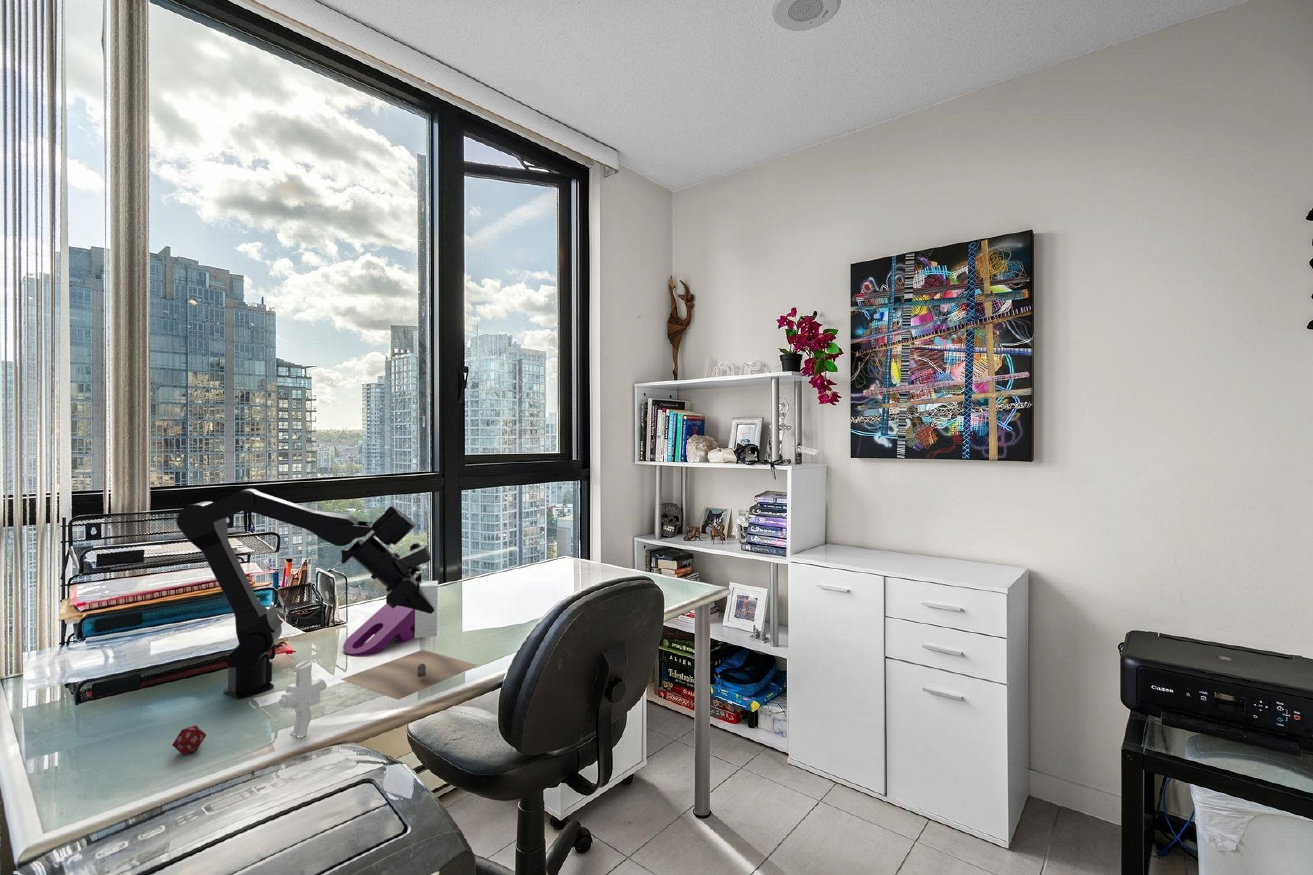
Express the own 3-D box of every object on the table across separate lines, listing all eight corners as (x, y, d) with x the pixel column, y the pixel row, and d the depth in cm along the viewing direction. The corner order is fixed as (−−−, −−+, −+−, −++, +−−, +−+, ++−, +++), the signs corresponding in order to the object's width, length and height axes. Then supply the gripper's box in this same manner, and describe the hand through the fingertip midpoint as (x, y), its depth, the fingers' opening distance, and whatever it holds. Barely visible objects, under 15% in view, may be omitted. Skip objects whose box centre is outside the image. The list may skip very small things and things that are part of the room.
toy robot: (331, 725, 105) (332, 657, 105) (288, 745, 98) (289, 672, 98) (316, 720, 107) (317, 653, 107) (273, 740, 100) (274, 668, 100)
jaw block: (414, 638, 127) (415, 586, 127) (415, 631, 131) (416, 581, 131) (436, 636, 128) (437, 585, 128) (437, 630, 133) (438, 580, 133)
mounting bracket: (376, 684, 137) (429, 629, 152) (363, 656, 133) (419, 603, 148) (347, 677, 140) (402, 624, 155) (333, 650, 137) (391, 599, 152)
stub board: (397, 705, 113) (398, 682, 113) (340, 684, 122) (341, 663, 122) (477, 670, 130) (477, 650, 130) (422, 654, 139) (422, 635, 139)
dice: (209, 751, 96) (209, 726, 96) (174, 762, 93) (174, 736, 93) (203, 743, 99) (203, 718, 99) (169, 753, 95) (169, 728, 95)
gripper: (405, 540, 120) (461, 591, 123) (411, 527, 137) (460, 572, 141) (361, 582, 117) (420, 633, 121) (373, 562, 135) (424, 607, 138)
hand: (433, 608), depth 130 cm, fingers closed on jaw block, 4 cm apart
